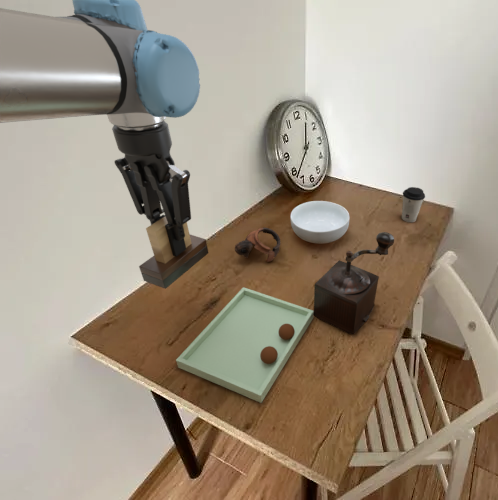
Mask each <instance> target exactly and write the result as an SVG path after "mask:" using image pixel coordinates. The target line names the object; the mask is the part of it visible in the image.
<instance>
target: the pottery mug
mask: <svg viewBox="0 0 498 500" xmlns="http://www.w3.org/2000/svg"><path fill="white" fill-rule="evenodd" d="M259 233H264V234H268V235H271V236H272V237H273V240H274V241H276V245H275V246H273V247H272V250H271V247H270V246H267V245H266V244H264V243H262V242H261V240H260V238H259V236H258V235H259ZM281 244H282V243H281V238H280V236H279V234H278V233H277V232H276V231H275V230H273V229H272V228H269V227H260V228H258V229H256V230H253V231H251V232H249V234H248V235H247V236H246V237H245V239H244V240H241V241H239V242H237V243H236V244H235V245H234V252H235V253H236V254H237V255H238V256H243V257H244V258H246V259H248V258H249V255H250V253H251V252H252V250H253V248H254V249H256V250H257V251H259V252H261V253H263V254H264V255H267V258H266V260H265V261H266V262H267V263H271V262H272V261H273V260H274V258H276V257H277V256H278V254H279V252H280V249H281V248H280V247H281Z"/></svg>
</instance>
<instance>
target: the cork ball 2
mask: <svg viewBox="0 0 498 500" xmlns="http://www.w3.org/2000/svg"><path fill="white" fill-rule="evenodd" d="M278 333H279V336H280V337H281V338H282V339H283V340H289V339H291V338H292V337H293V336H294V333H295V330H294V327H293V326H292V325H290V324H283V325H282V326H281V327H280V328H279V332H278Z"/></svg>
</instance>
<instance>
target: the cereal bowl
mask: <svg viewBox="0 0 498 500" xmlns="http://www.w3.org/2000/svg"><path fill="white" fill-rule="evenodd" d="M289 217H290V226H291V229H292V230H293V231H292V232H294V234H295V235H296V236H297V237H298V238H300V239H301V240H303V241H305V242H307V243H312V244H322V245H323V244H329V243H332V242H335V241H337V240H339V239H341V238H342V237H343V236H344V235H345V234H346V232H347V231H348V229H349V226H350V213H349V211H348V210H347V209H346V208H345V207H344V206H343V205H340V204H338V203H335V202H331V201H326V200H313V201H307V202H303V203H301V204H299V205H297V206H295V207H294V208H293V209H292V211H291V212H290V216H289Z"/></svg>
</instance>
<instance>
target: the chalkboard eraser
mask: <svg viewBox="0 0 498 500" xmlns="http://www.w3.org/2000/svg"><path fill="white" fill-rule="evenodd" d="M166 224H168V222H167V219H166V216H165V217H163V218H162V219H160V220H158V221H157V222H155V223H154V224H152V225H151V224H150V225H149V226H147V227H146V228H145V231H146V233H147V237H148V240H149V243H150V246H151V250H152V253H153V255H152V256H151V257H150V258H148V259H147V260H146V261H144V262H143V263H141V264H140V265H139V266H138V268H139V271H140V274H141V277H142V280H143V282H146V283H148V284H152V285H153V286H156V287H159V288H161V289H168V287H170V286H171V285H172V284H173V283H174V282H176V281H177V280H178V279H179V278H181V277H182V276H183V275H184V274H185V273H187V272H188V271H189V270H190V269H191V268H193V267H194V266H195V265H196V264H198V262H200V261H201V260H202V259H203V258H205V257H206V256H207V255H208V254H209V248H208V244H207V239H206V238H203V237H200V236H196V235H194V234H191V233H190V231H189V226H188V222H186V223H185V224H183V228H184V233H185V237H184V241H185V245H186V250H184V251H183V252H182V253H180V254H179V255H178V256H173V254H172V250H171V246H170V242H169V239H168V235H167V231H166V228H165V225H166Z"/></svg>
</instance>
